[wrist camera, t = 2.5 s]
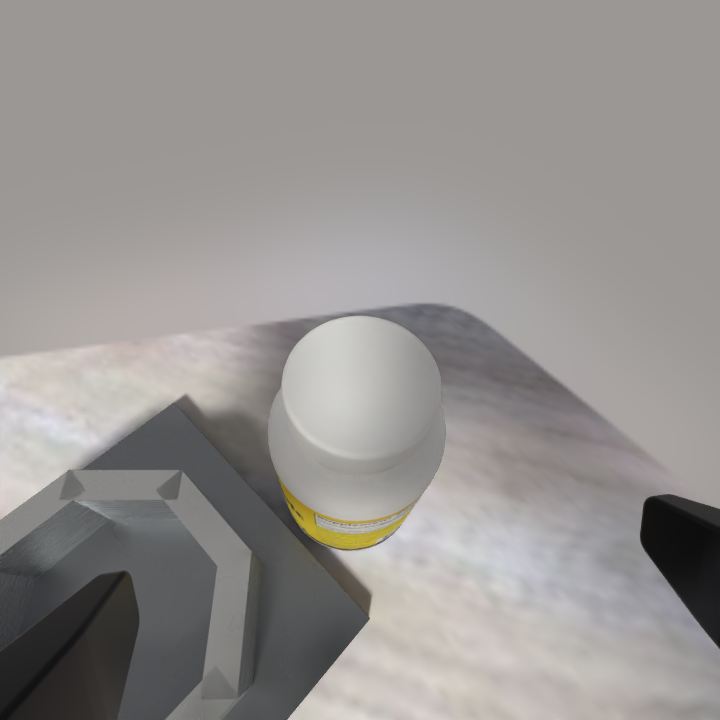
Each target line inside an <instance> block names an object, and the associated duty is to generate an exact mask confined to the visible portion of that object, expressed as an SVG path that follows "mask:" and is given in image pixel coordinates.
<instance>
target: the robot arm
mask: <svg viewBox="0 0 720 720" xmlns="http://www.w3.org/2000/svg"><path fill="white" fill-rule="evenodd" d="M640 541H641V544H642V546H643V548H644V550H645V552H646V553H647V554H648V556H649V557H650V558H651V560H652V561H653V562H654V564H655V565H656V567H657V568H658V569H659V571H660V572H661V573H662V575H663V576H664V577H665V579H666V580H667V581H668V583H669V584H670V585H671V587H672V588H673V589H674V591H675V592H676V594H677V595H678V596H679V598H680V599H681V600H682V602H683V603H684V604H685V606H686V607H687V608H688V610H689V611H690V612H691V614H692V615H693V616H694V618H695V619H696V620H697V622H698V623H699V624H700V626H701V627H702V628H703V629H704V631H705V632H706V633H707V634H708V635H709V637H710V638H711V639H712V640H713V641H714V643H715V644H716V645H717V646H718V647H719V648H720V509H718V508H715V507H711V506H708V505H705V504H701V503H698V502H695V501H691V500H688V499H685V498H681V497H678V496H675V495H670V494H666V495H658V496H651V497H649V498H647V499H646V501H645V502H644V505H643V513H642V521H641V530H640ZM139 621H140V616H139V609H138V604H137V600H136V595H135V590H134V586H133V581H132V577H131V575H130V573H129V572H127V571H125V570H122V571H115V572H108V573H102V574H99V575H98V576H96V577H95V578H94V579H92V580H91V581H90V582H88V583H87V584H86V585H85V586H83V587H82V588H81V589H79V590H78V591H77V592H76V593H74V594H73V595H72V596H70V597H69V598H68V599H66V600H65V601H64V602H63V603H61V604H60V605H59V606H57V607H56V608H55V609H54V610H52V611H51V612H50V613H48V614H47V615H46V616H45V617H43V618H42V619H41V620H39V621H38V622H37V623H35V624H34V625H33V626H32V627H30V628H29V629H28V630H26V631H25V632H24V633H23V634H21V635H20V636H19V637H17V638H16V639H15V640H14V641H12V642H11V643H10V644H8V645H7V646H6V647H4V648H3V649H2V650H1V651H0V720H117V719H118V714H119V710H120V706H121V702H122V697H123V693H124V689H125V685H126V680H127V676H128V672H129V668H130V663H131V659H132V655H133V651H134V647H135V642H136V638H137V634H138V629H139Z"/></svg>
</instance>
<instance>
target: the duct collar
mask: <svg viewBox="0 0 720 720" xmlns="http://www.w3.org/2000/svg"><path fill="white" fill-rule="evenodd" d="M122 570H125V571H127V572H129V573H130V575H131V577H132V581H133V586H134V590H135V595H136V600H137V604H138V609H139V616H140V621H139V629H138V634H137V638H136V642H135V647H134V651H133V655H132V659H131V663H130V668H129V672H128V676H127V680H126V685H125V689H124V693H123V697H122V702H121V706H120V710H119V714H118V719H117V720H287V719H288V718H289V717H290V715H291V714H292V713H293V712H294V711H295V709H296V708H297V707H298V706H299V704H300V703H301V702H302V701H303V700H304V698H305V697H306V696H307V695H308V693H309V692H310V691H311V690H312V689H313V687H314V686H315V685H316V684H317V683H318V681H319V680H320V679H321V678H322V676H323V675H324V674H325V673H326V672H327V670H328V669H329V668H330V667H331V665H332V664H333V663H334V662H335V661H336V659H337V658H338V657H339V656H340V655H341V653H342V652H343V651H344V650H345V648H346V647H347V646H348V645H349V644H350V642H351V641H352V640H353V639H354V637H355V636H356V635H357V634H358V633H359V631H360V630H361V629H362V628H363V626H364V625H365V624H366V623H367V622H368V620H369V619H370V618H369V617H368V616H367V614H366V613H365V612H364V611H363V610H362V609H361V608H360V607H359V606H358V605H357V603H356V602H355V601H354V600H353V599H352V598H351V597H350V596H349V595H348V594H347V592H346V591H345V590H344V589H343V588H342V587H341V586H340V585H339V584H338V583H337V581H336V580H335V579H334V578H333V577H332V576H331V575H330V574H329V573H328V572H327V570H326V569H325V568H324V567H323V566H322V565H321V564H320V563H319V562H318V561H317V559H316V558H315V557H314V556H313V555H312V554H311V553H310V552H309V551H308V550H307V548H306V547H305V546H304V545H303V544H302V543H301V542H300V541H299V540H298V539H297V537H296V536H295V535H294V534H293V533H292V532H291V531H290V530H289V529H288V528H287V526H286V525H285V524H284V523H283V522H282V521H281V520H280V519H279V518H278V517H277V515H276V514H275V513H274V512H273V511H272V510H271V509H270V508H269V507H268V505H267V504H266V503H265V502H264V501H263V500H262V499H261V498H260V497H259V496H258V494H257V493H256V492H255V491H254V490H253V489H252V488H251V487H250V486H249V485H248V483H247V482H246V481H245V480H244V479H243V478H242V477H241V476H240V475H239V474H238V472H237V471H236V470H235V469H234V468H233V467H232V466H231V465H230V464H229V463H228V461H227V460H226V459H225V458H224V457H223V456H222V455H221V454H220V453H219V452H218V450H217V449H216V448H215V447H214V446H213V445H212V444H211V443H210V442H209V441H208V439H207V438H206V437H205V436H204V435H203V434H202V433H201V432H200V431H199V430H198V428H197V427H196V426H195V425H194V424H193V423H192V422H191V421H190V420H189V419H188V417H187V416H186V415H185V414H184V413H183V412H182V411H181V410H180V409H179V408H178V406H177V405H176V404H175V403H173V404H171V405H170V406H169V407H167V408H166V409H164V410H163V411H162V412H160V413H159V414H158V415H156V416H155V417H154V418H152V419H151V420H149V421H148V422H147V423H145V424H144V425H143V426H141V427H140V428H139V429H137V430H136V431H135V432H133V433H132V434H130V435H129V436H128V437H126V438H125V439H124V440H122V441H121V442H120V443H118V444H117V445H116V446H114V447H113V448H111V449H110V450H109V451H107V452H106V453H105V454H103V455H102V456H101V457H99V458H98V459H96V460H95V461H94V462H92V463H91V464H90V465H88V466H87V467H86V468H84V469H83V470H71V469H70V470H68V471H67V472H66V473H65V474H63V475H62V476H60V477H59V478H58V479H56V480H55V481H54V482H52V483H51V484H49V485H48V486H47V487H45V488H44V489H42V490H41V491H40V492H38V493H37V494H36V495H34V496H33V497H31V498H30V499H29V500H27V501H26V502H25V503H23V504H22V505H20V506H19V507H18V508H16V509H15V510H14V511H12V512H11V513H9V514H8V515H7V516H5V517H4V518H3V519H1V520H0V651H1V650H2V649H3V648H4V647H6V646H7V645H8V644H10V643H11V642H12V641H14V640H15V639H16V638H17V637H19V636H20V635H21V634H23V633H24V632H25V631H26V630H28V629H29V628H30V627H32V626H33V625H34V624H35V623H37V622H38V621H39V620H41V619H42V618H43V617H45V616H46V615H47V614H48V613H50V612H51V611H52V610H54V609H55V608H56V607H57V606H59V605H60V604H61V603H63V602H64V601H65V600H66V599H68V598H69V597H70V596H72V595H73V594H74V593H76V592H77V591H78V590H79V589H81V588H82V587H83V586H85V585H86V584H87V583H88V582H90V581H91V580H92V579H94V578H95V577H96V576H98V575H99V574H102V573H108V572H115V571H122Z"/></svg>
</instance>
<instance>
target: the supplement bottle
mask: <svg viewBox="0 0 720 720" xmlns="http://www.w3.org/2000/svg"><path fill="white" fill-rule="evenodd" d="M441 398H442V383H441V377H440V372H439V369H438V366H437V364H436V362H435V360H434V358H433V356H432V354H431V353H430V351H429V350H428V348H427V347H426V346H425V345H424V344H423V343H422V342H421V340H420V339H418V338H417V337H416V336H415V335H414V334H413V333H411V332H410V331H408V330H407V329H405V328H404V327H402V326H400V325H398V324H396V323H393V322H391V321H388V320H385V319H381V318H377V317H371V316H347V317H342V318H337V319H334V320H331V321H328V322H326V323H323V324H321V325H320V326H318V327H316V328H314V329H313V330H311V331H310V332H308V333H307V334H306V335H305V336H304V337H303V338H302V339H301V340H300V341H299V342H298V343H297V344H296V346H295V347H294V348H293V350H292V351H291V353H290V354H289V357H288V359H287V361H286V364H285V366H284V370H283V375H282V382H281V387H280V389H279V391H278V393H277V395H276V396H275V398H274V401H273V404H272V407H271V410H270V414H269V419H268V427H267V434H268V446H269V451H270V456H271V460H272V463H273V466H274V469H275V471H276V474H277V477H278V479H279V482H280V485H281V487H282V491H283V493H284V496H285V498H286V501H287V505H288V507H289V510H290V512H291V514H292V516H293V518H294V519H295V521H296V523H297V524H298V525H299V527H300V528H301V529H302V530H303V531H304V532H305V533H306V534H307V535H308V536H309V537H310V538H311V539H313V540H314V541H316V542H318V543H319V544H321V545H323V546H326V547H329V548H332V549H335V550H341V551H357V550H363V549H367V548H370V547H373V546H376V545H378V544H380V543H381V542H383V541H385V540H386V539H387V538H389V537H390V536H391V535H392V534H394V533H395V531H396V530H397V529H398V528H399V527H400V526H401V524H402V523H403V522H404V520H405V519H406V517H407V516H408V515H409V513H410V512H411V510H412V509H413V507H414V506H415V504H416V503H417V502H418V500H419V499H420V497H421V496H422V494H423V493H424V491H425V490H426V488H427V487H428V486H429V484H430V483H431V481H432V479H433V478H434V476H435V474H436V472H437V470H438V467H439V465H440V463H441V460H442V456H443V452H444V447H445V438H446V430H445V420H444V415H443V411H442V408H441V405H440V404H441Z"/></svg>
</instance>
